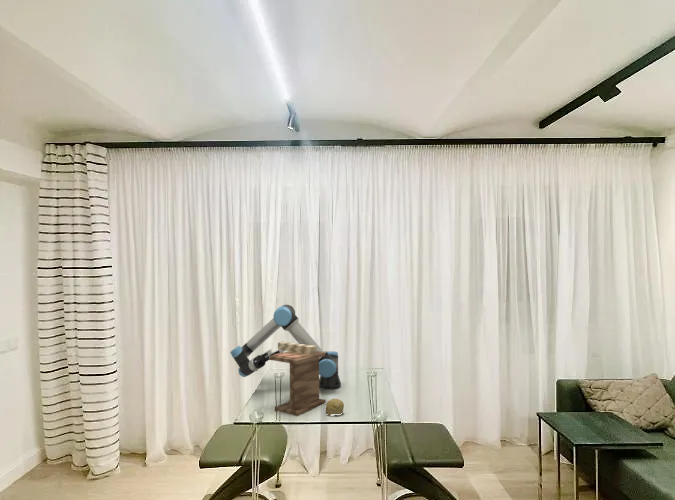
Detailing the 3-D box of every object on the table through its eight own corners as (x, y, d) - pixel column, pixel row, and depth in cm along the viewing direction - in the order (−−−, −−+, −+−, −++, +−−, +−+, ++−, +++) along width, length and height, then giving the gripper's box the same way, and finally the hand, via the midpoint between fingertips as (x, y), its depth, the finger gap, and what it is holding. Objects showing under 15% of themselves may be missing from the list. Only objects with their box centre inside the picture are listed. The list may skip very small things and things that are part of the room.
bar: (277, 349, 287) (277, 342, 287) (282, 348, 291) (282, 341, 291) (312, 354, 273) (312, 347, 273) (316, 352, 277) (316, 346, 277)
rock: (329, 417, 265) (320, 402, 264) (346, 406, 266) (337, 391, 265) (331, 424, 256) (321, 409, 254) (348, 413, 257) (339, 398, 255)
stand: (269, 409, 268) (269, 355, 268) (298, 397, 289) (298, 347, 290) (297, 416, 257) (297, 360, 257) (325, 403, 278) (325, 351, 278)
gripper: (273, 364, 309) (294, 351, 298) (245, 372, 288) (267, 358, 278) (268, 353, 311) (290, 340, 301) (240, 361, 290) (262, 347, 280)
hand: (279, 349), depth 289 cm, fingers open, 13 cm apart
